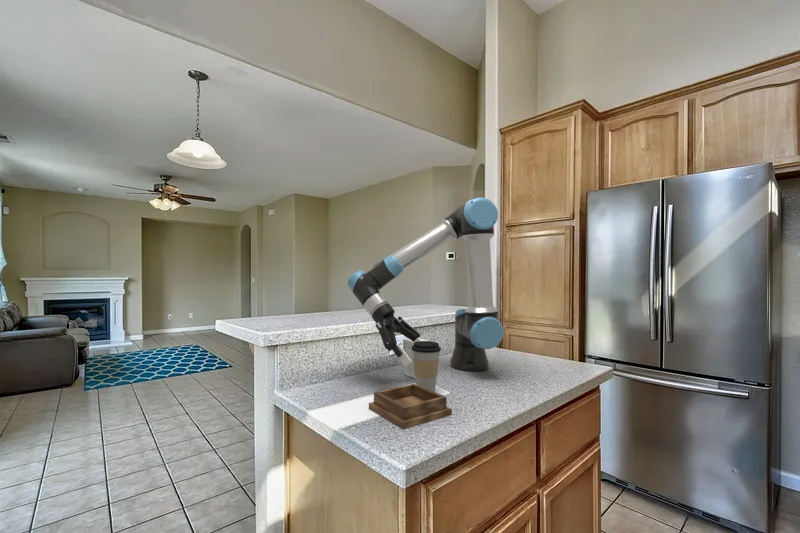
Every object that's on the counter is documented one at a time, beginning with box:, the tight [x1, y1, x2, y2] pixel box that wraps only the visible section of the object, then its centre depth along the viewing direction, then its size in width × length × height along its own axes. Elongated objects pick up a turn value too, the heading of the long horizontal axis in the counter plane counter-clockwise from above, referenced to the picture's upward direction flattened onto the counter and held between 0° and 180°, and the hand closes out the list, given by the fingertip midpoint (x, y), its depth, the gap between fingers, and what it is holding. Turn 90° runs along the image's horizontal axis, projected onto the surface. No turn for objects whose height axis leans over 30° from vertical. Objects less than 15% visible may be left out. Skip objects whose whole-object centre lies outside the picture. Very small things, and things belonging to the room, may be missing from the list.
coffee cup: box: [411, 340, 442, 393], centre depth 117 cm, size 9×9×15 cm
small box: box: [402, 337, 429, 380], centre depth 134 cm, size 8×6×13 cm
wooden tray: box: [368, 383, 453, 430], centre depth 99 cm, size 16×16×4 cm
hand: (418, 359), depth 117 cm, fingers open, 13 cm apart
